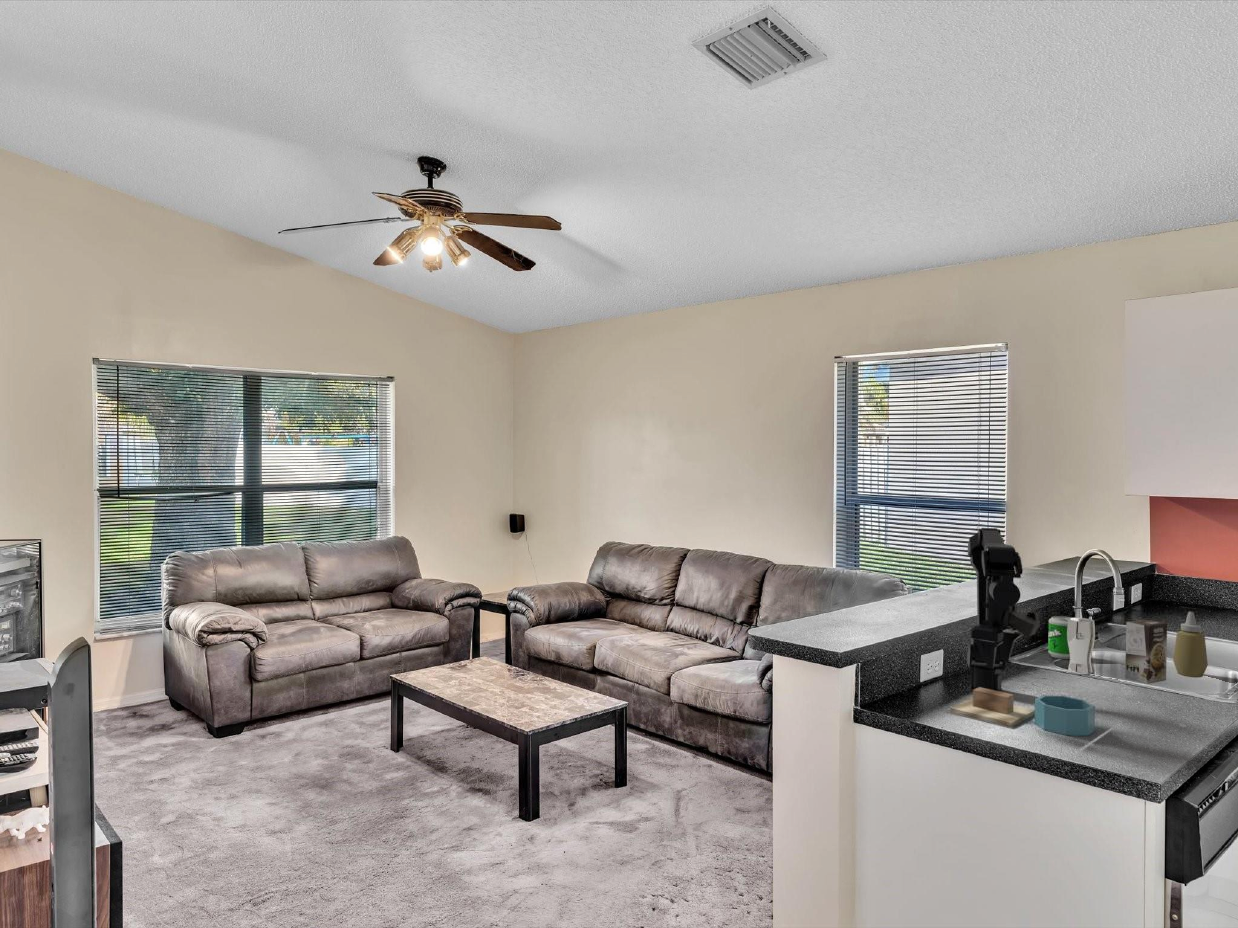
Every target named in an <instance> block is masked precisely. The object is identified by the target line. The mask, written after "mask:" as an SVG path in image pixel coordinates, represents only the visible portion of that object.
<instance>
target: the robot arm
mask: <svg viewBox="0 0 1238 928" xmlns="http://www.w3.org/2000/svg"><path fill="white" fill-rule="evenodd" d="M1001 534H1002V533H1001V529H998V528H996V527H981V528H978V530H977V533H975V534H973V535H971V536H970V537H969V538H968V543H967V556H968V557H969V559H970V561H969V562H970V565H971V566H972V568H973V569H974V571H975V573H976V609H977V610H976V611H977V616H976V619H977V625H975V626H973V627H972V628H971V629H970V630H969V631H970V635H969V637H970V638H971V639H970V643H969V644H968V647H967V654H966V664H967V665H968V668H970V685H969V686H968V687H967V689H968V690H971V691H973V690H974V689H976V688H979V687H981V688H986V689H990V690H995V691H1000V692H1002V691H1003V688H1002V678H1003V677H1002V674H1001V672H1000V671H1004V670H1005V669H1006V668H1007V667H1006V665H1007V663H1009V662H1010V658H1011V655H1012V652H1013V649H1014V645H1015V643H1016V640H1017V639H1019V638H1020V637H1022V636H1023V635H1024V636H1026V637H1031V636H1033V635H1036V633H1037V630H1038V628H1041V620H1040V619H1039V613H1037V612H1035V611H1033V610H1032V611H1029V612H1028V613H1027V614H1026V613H1025V612H1020V611H1018V606H1017V605H1016V604H1018V602H1019V601H1020V599H1021V591H1020V590H1021V589H1020V587H1018V586H1017V585H1016V584H1015V583H1014V579H1022V578H1021V577H1022V575H1023V572H1024V569H1023V564H1022V558H1021V556H1020V553H1019V552H1018V551H1016V548H1015V547H1014V546H1013V545H1009V544H1005V541H1004V537H1002V536H1001Z"/></svg>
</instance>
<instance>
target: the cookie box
mask: <svg viewBox="0 0 1238 928" xmlns="http://www.w3.org/2000/svg"><path fill="white" fill-rule="evenodd" d="M1125 625H1126V626H1125V627H1126V629H1125V635H1126V636H1125V661H1124V662H1125V668H1124V678H1125V680H1129V681H1133V682H1137V683H1141V684H1145V685H1149V684H1154V683H1160V682H1164V681H1165V682H1166V681H1167V657H1168V656H1167V655H1168V654H1167V653H1168V652H1167V651H1168V644H1167V643H1168V623H1167V622H1164V621H1157V620H1150V619H1138V620H1131V621H1129V620H1128V621H1126V624H1125Z"/></svg>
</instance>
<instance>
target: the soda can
mask: <svg viewBox="0 0 1238 928" xmlns="http://www.w3.org/2000/svg"><path fill="white" fill-rule="evenodd" d="M1068 618H1070V617H1069V616H1064V615H1062V616H1061V615H1059V616H1058V615H1056V616H1055V615H1054V616H1051V618H1049V619H1048V645H1047V648H1048V651H1047V653H1048V654H1049V655H1050V656H1051V657H1052V658H1056V659H1060V660H1070V653H1069V647H1068V641H1067V626H1068Z"/></svg>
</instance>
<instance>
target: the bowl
mask: <svg viewBox="0 0 1238 928" xmlns="http://www.w3.org/2000/svg"><path fill="white" fill-rule="evenodd" d="M1034 710H1035V718H1034V724H1035V725H1037V726H1038V727H1039V728H1040V729H1042V730H1044V731H1047V732H1050V733H1055V734H1059V735H1063V736H1071V737H1072V736H1075V737H1081V736H1083V737H1084V736H1089V735H1092V733H1094V732H1095V728H1096V727H1095V726H1096V724H1095V722H1096V706H1095V705H1094V704H1092V703H1090V702H1088V701H1087V700H1084V699H1080V698H1076V697H1071V696H1067V695H1055V694H1054V695H1051V694H1050V695H1045V694H1044V695H1043V694H1042V695H1040V696H1037V697H1036V698H1035V699H1034Z"/></svg>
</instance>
